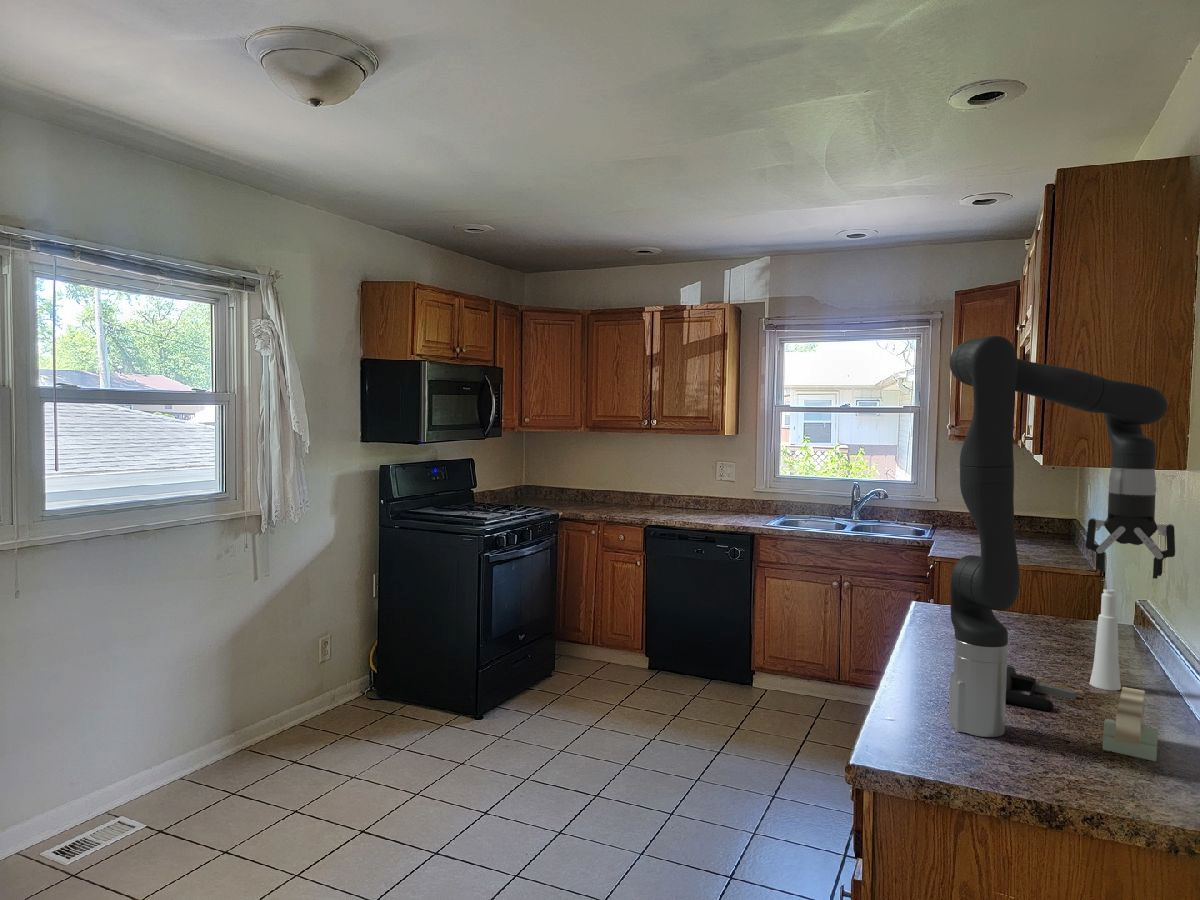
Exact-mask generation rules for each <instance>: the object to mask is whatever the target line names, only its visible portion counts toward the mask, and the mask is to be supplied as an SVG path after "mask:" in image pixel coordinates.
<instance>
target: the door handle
mask: <svg viewBox="0 0 1200 900" xmlns="http://www.w3.org/2000/svg"><path fill="white" fill-rule="evenodd" d="M1036 680H1037V678H1036V677H1030V676H1026V675H1021V674H1017V670H1016V669H1015V668H1014V667H1012V666H1009V665H1007V679H1006V703H1009V704H1012V705H1017V706H1021V707H1025V708H1028V707H1029V709H1033V710H1037V709H1038V711H1042V710H1043V712H1046V711H1047V712H1048V713H1049V712H1051V711H1053V709H1054V703H1053V701H1052V700H1050V699H1046V698H1044V697H1041V696H1040V697H1039V696H1035V695H1034V693H1038V694H1039V693H1040V694H1044V695H1047V696H1053V697H1061V698H1066V699H1072V700H1077V699H1076V698H1077V691H1075V690H1072V689H1067V688H1063V687H1059V686H1054V685H1049V684H1045V683H1041V682H1037V681H1036ZM1015 689H1016V691H1013V690H1015ZM1018 691H1022V692H1018ZM1023 692H1027V693H1029V694H1026V693H1023Z"/></svg>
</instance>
